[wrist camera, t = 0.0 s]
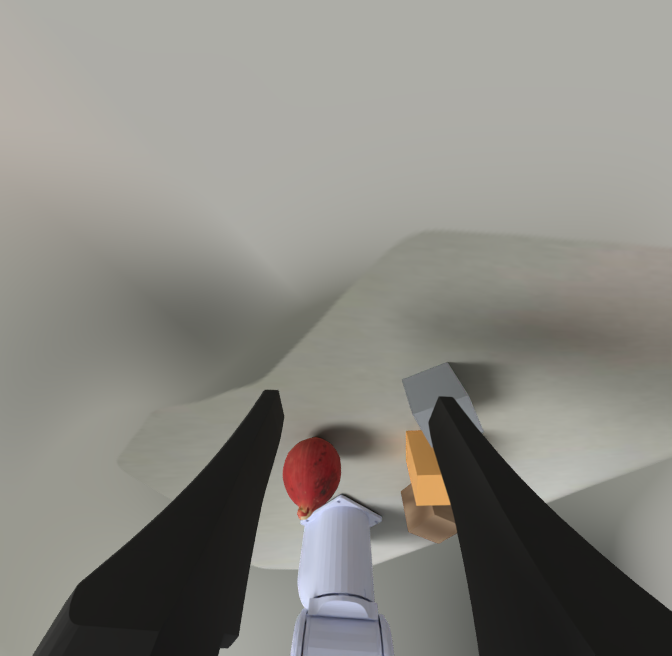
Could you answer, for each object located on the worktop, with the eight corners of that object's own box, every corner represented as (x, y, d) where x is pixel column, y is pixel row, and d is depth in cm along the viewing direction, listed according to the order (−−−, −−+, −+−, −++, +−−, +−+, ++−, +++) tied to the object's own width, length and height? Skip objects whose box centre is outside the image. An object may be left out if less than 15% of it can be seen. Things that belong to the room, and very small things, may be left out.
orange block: (405, 459, 29) (416, 505, 24) (405, 430, 27) (417, 475, 22) (448, 457, 28) (467, 504, 24) (452, 428, 26) (474, 473, 22)
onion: (326, 414, 26) (317, 492, 19) (350, 446, 28) (351, 528, 21) (282, 430, 27) (258, 509, 20) (308, 459, 29) (295, 540, 22)
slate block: (418, 409, 25) (431, 447, 21) (401, 379, 23) (412, 414, 19) (461, 394, 24) (484, 432, 20) (446, 361, 22) (468, 395, 18)
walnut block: (427, 502, 33) (438, 543, 28) (400, 490, 32) (408, 532, 28) (450, 485, 31) (466, 527, 27) (423, 473, 30) (434, 514, 26)
